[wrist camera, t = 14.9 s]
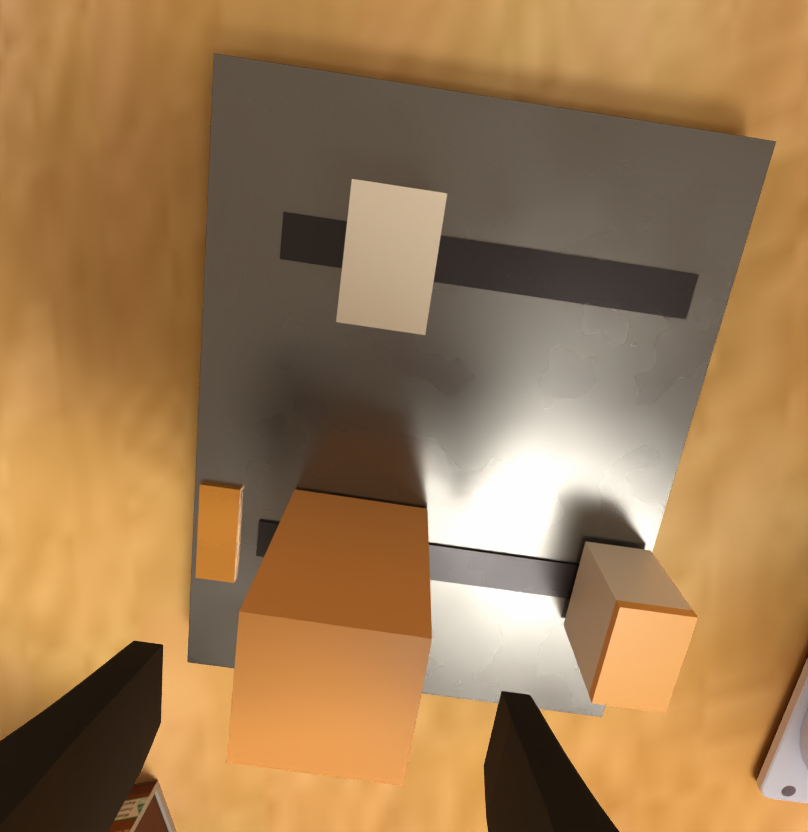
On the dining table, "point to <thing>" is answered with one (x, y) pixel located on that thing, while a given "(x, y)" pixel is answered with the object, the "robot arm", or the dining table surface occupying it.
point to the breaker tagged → (627, 627)
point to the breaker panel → (457, 347)
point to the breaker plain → (390, 256)
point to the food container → (144, 811)
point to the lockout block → (334, 641)
